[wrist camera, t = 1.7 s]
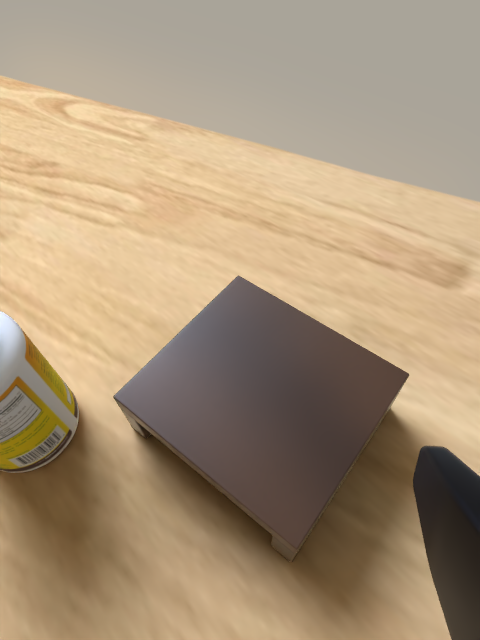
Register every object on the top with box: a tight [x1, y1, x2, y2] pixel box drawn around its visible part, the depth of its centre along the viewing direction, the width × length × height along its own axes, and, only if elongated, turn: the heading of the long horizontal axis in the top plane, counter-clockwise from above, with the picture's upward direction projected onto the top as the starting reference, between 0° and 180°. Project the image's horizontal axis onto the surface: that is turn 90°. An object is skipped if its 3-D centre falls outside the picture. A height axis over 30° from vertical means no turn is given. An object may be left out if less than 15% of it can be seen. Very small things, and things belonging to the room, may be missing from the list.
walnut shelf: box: [114, 276, 409, 562], centre depth 23 cm, size 10×11×4 cm
